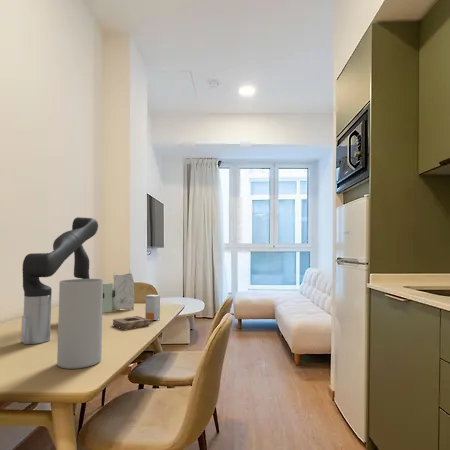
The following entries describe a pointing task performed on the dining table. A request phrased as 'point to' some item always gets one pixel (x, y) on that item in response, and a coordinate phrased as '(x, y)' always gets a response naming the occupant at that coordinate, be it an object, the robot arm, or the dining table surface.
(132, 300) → the grocery bag
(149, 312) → the skincare box
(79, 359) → the cylinder vase
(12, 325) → the dining table surface
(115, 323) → the well block
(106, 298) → the green post
